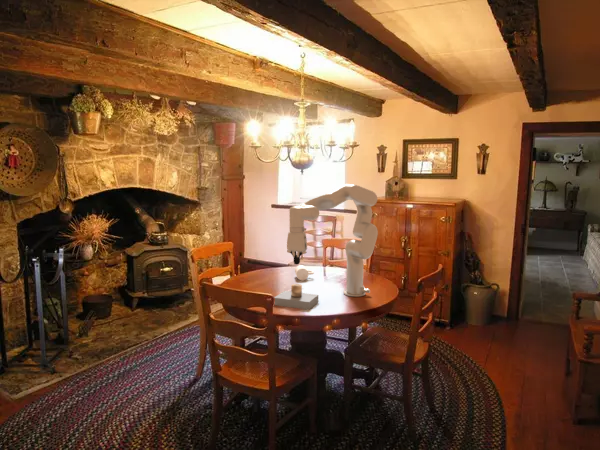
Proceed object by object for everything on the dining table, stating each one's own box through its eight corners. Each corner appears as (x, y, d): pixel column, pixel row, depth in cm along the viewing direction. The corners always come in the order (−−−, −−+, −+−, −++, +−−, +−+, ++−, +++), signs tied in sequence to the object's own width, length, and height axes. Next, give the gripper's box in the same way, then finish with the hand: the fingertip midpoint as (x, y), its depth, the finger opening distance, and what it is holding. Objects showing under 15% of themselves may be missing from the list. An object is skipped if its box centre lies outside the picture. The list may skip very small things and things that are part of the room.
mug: (296, 280, 282) (296, 268, 281) (294, 276, 292) (294, 265, 291) (314, 280, 283) (314, 268, 282) (312, 276, 293) (312, 264, 292)
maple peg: (303, 300, 236) (303, 284, 234) (299, 303, 230) (299, 287, 229) (293, 299, 238) (293, 283, 237) (289, 302, 232) (289, 286, 231)
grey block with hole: (318, 302, 237) (318, 294, 236) (308, 309, 224) (309, 302, 223) (284, 297, 244) (284, 290, 244) (273, 304, 231) (273, 297, 231)
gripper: (312, 229, 230) (312, 263, 232) (286, 228, 235) (286, 261, 238) (307, 231, 223) (307, 266, 225) (280, 230, 228) (281, 264, 231)
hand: (296, 263), depth 231 cm, fingers closed
